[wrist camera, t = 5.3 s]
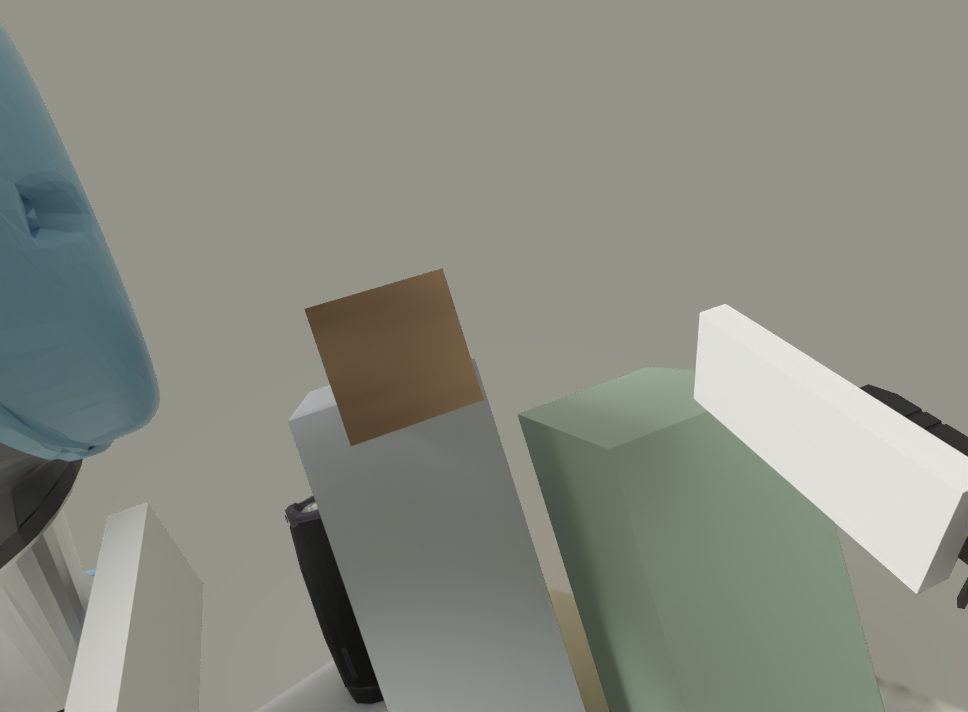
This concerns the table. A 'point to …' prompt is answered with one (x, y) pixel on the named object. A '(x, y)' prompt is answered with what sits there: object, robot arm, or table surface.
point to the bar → (394, 355)
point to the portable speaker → (332, 601)
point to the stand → (437, 562)
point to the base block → (694, 558)
